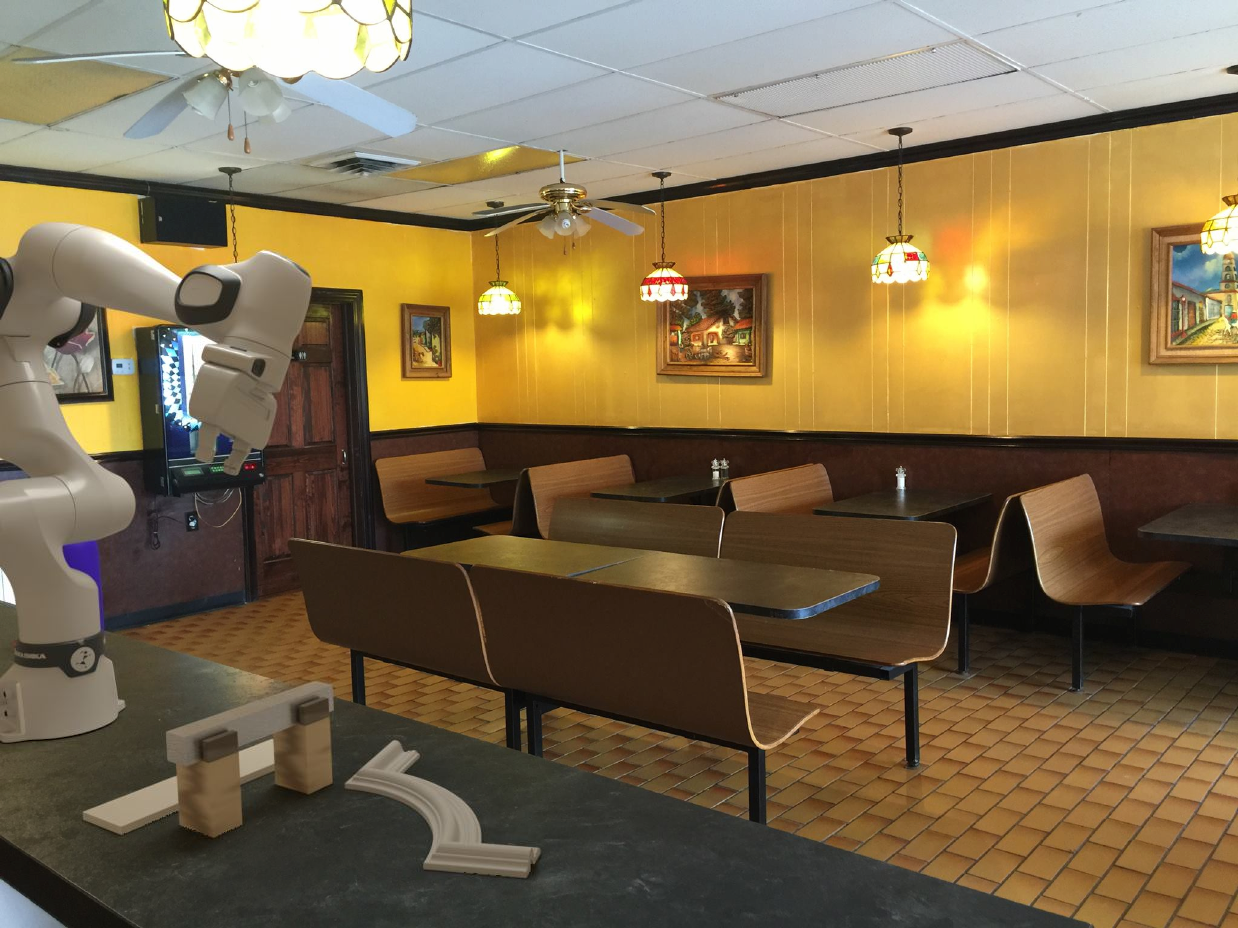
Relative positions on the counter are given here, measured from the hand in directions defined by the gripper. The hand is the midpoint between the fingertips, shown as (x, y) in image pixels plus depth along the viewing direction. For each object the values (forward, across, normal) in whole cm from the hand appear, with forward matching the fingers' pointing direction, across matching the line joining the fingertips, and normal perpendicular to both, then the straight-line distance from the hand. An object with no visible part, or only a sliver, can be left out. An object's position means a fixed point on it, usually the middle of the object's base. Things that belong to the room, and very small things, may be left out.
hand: (216, 468), depth 131 cm
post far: (+37, -8, +22) cm, 43 cm away
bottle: (+38, -70, -42) cm, 90 cm away
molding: (+34, +1, +41) cm, 53 cm away
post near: (+42, +4, +15) cm, 44 cm away
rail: (+31, 0, +16) cm, 35 cm away
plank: (+40, -8, +9) cm, 42 cm away
